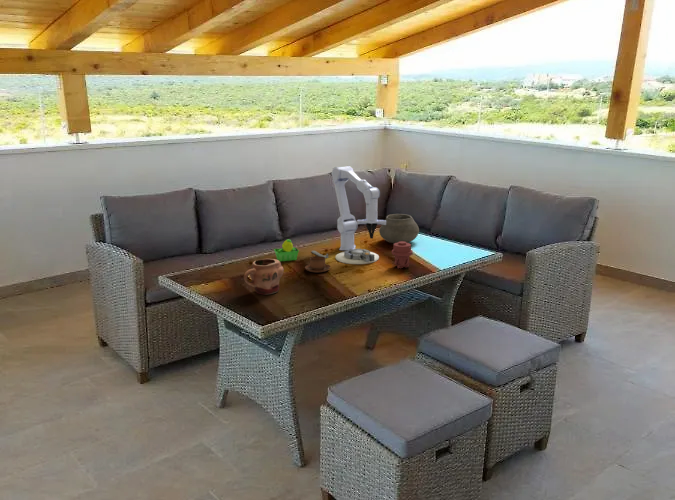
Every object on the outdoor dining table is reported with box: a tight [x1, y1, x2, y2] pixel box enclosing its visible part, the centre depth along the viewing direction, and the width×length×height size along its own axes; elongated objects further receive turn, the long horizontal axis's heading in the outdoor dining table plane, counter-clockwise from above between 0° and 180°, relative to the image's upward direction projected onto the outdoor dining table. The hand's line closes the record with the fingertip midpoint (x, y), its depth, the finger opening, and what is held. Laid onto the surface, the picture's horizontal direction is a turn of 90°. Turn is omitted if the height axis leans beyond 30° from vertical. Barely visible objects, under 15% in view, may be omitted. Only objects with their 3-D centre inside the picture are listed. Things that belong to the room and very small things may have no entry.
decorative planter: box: [243, 258, 285, 296], centre depth 257 cm, size 20×12×14 cm, turn 139°
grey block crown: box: [343, 248, 371, 262], centre depth 306 cm, size 13×17×4 cm
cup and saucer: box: [304, 255, 331, 274], centre depth 289 cm, size 12×12×6 cm
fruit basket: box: [273, 238, 300, 262], centre depth 305 cm, size 11×9×11 cm
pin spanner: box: [311, 250, 329, 259], centre depth 315 cm, size 13×3×2 cm, turn 27°
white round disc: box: [335, 250, 380, 265], centre depth 309 cm, size 22×22×4 cm
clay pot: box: [378, 213, 420, 244], centre depth 336 cm, size 22×21×15 cm
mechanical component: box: [391, 241, 414, 269], centre depth 292 cm, size 12×10×10 cm
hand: (371, 238), depth 308 cm, fingers closed
